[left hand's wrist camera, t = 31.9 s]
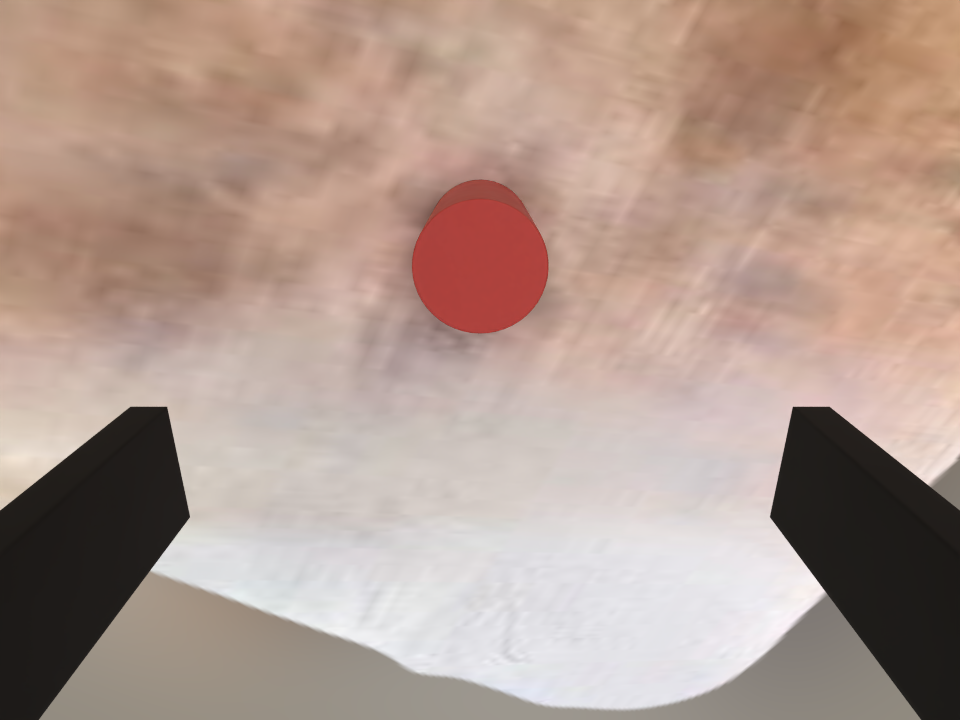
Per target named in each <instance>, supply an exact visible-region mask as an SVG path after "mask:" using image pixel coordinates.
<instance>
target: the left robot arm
mask: <svg viewBox="0 0 960 720" xmlns="http://www.w3.org/2000/svg"><path fill="white" fill-rule="evenodd" d="M189 518H190V515H189V510H188V505H187V500H186V495H185V491H184V486H183V481H182V476H181V471H180V467H179V462H178V457H177V452H176V447H175V443H174V438H173V433H172V428H171V423H170V419H169V414H168V409H167V407H130V408H128V409H127V410H126V411H125V412H123V413H122V414H121V415H120V416H118V417H117V418H116V419H115V420H113V421H112V422H111V423H110V424H108V425H107V426H106V427H105V428H103V429H102V430H101V431H100V432H98V433H97V434H96V435H95V436H93V437H92V438H91V439H90V440H88V441H87V442H86V443H84V444H83V445H82V446H81V447H79V448H78V449H77V450H76V451H74V452H73V453H72V454H71V455H69V456H68V457H67V458H66V459H64V460H63V461H62V462H61V463H59V464H58V465H57V466H56V467H54V468H53V469H52V470H51V471H49V472H48V473H47V474H46V475H44V476H43V477H42V478H41V479H39V480H38V481H37V482H36V483H34V484H33V485H32V486H30V487H29V488H28V489H27V490H25V491H24V492H23V493H22V494H20V495H19V496H18V497H17V498H15V499H14V500H13V501H12V502H10V503H9V504H8V505H7V506H5V507H4V508H3V509H2V510H0V720H39V719H40V717H41V716H42V715H43V713H44V712H45V711H46V709H47V708H48V707H49V705H50V704H51V702H52V701H53V700H54V699H55V697H56V696H57V695H58V693H59V692H60V691H61V689H62V688H63V686H64V685H65V684H66V682H67V681H68V680H69V678H70V677H71V676H72V674H73V673H74V672H75V670H76V669H77V668H78V666H79V665H80V664H81V662H82V661H83V660H84V658H85V657H86V656H87V654H88V653H89V652H90V650H91V649H92V648H93V646H94V645H95V644H96V642H97V641H98V640H99V638H100V637H101V636H102V634H103V633H104V632H105V630H106V629H107V628H108V626H109V625H110V624H111V622H112V621H113V620H114V618H115V617H116V615H117V614H118V613H119V611H120V610H121V609H122V607H123V606H124V605H125V603H126V602H127V601H128V599H129V598H130V597H131V595H132V594H133V593H134V591H135V590H136V589H137V587H138V586H139V585H140V583H141V582H142V581H143V579H144V578H145V577H146V575H147V574H148V573H149V571H150V570H151V569H152V567H153V566H154V565H155V563H156V562H157V561H158V559H159V558H160V557H161V555H162V554H163V553H164V551H165V550H166V549H167V547H168V546H169V545H170V543H171V542H172V540H173V539H174V538H175V536H176V535H177V534H178V532H179V531H180V530H181V528H182V527H183V526H184V524H185V523H186V522H187V520H188V519H189ZM770 518H771V519H772V520H773V522H774V523H775V524H776V526H777V527H778V528H779V530H780V531H781V532H782V534H783V535H784V536H785V538H786V539H787V540H788V542H789V543H790V545H791V546H792V547H793V549H794V550H795V551H796V553H797V554H798V555H799V557H800V558H801V559H802V561H803V562H804V563H805V565H806V566H807V567H808V569H809V570H810V571H811V573H812V574H813V575H814V577H815V578H816V579H817V581H818V582H819V583H820V585H821V586H822V587H823V589H824V590H825V591H826V593H827V594H828V595H829V597H830V598H831V599H832V601H833V602H834V603H835V605H836V606H837V607H838V609H839V610H840V611H841V613H842V614H843V615H844V617H845V618H846V620H847V621H848V622H849V624H850V625H851V626H852V628H853V629H854V630H855V632H856V633H857V634H858V636H859V637H860V638H861V640H862V641H863V642H864V644H865V645H866V646H867V648H868V649H869V650H870V652H871V653H872V654H873V656H874V657H875V658H876V660H877V661H878V662H879V664H880V665H881V666H882V668H883V669H884V670H885V672H886V673H887V674H888V676H889V677H890V678H891V680H892V681H893V682H894V684H895V685H896V686H897V688H898V689H899V691H900V692H901V693H902V695H903V696H904V697H905V699H906V700H907V701H908V703H909V704H910V705H911V707H912V708H913V709H914V711H915V712H916V713H917V715H918V716H919V717H920V719H921V720H960V510H958V509H957V508H956V507H955V506H953V505H952V504H951V503H950V502H948V501H947V500H946V499H945V498H943V497H942V496H941V495H940V494H938V493H937V492H936V491H934V490H933V489H932V488H931V487H930V486H928V485H927V484H926V483H924V482H923V481H922V480H921V479H919V478H918V477H917V476H916V475H914V474H913V473H912V472H911V471H909V470H908V469H907V468H906V467H904V466H903V465H902V464H901V463H899V462H898V461H897V460H896V459H894V458H893V457H892V456H891V455H889V454H888V453H887V452H886V451H884V450H883V449H882V448H881V447H879V446H878V445H877V444H876V443H874V442H873V441H872V440H870V439H869V438H868V437H867V436H865V435H864V434H863V433H862V432H860V431H859V430H858V429H857V428H855V427H854V426H853V425H852V424H850V423H849V422H848V421H847V420H845V419H844V418H843V417H842V416H840V415H839V414H838V413H837V412H835V411H834V410H833V409H832V408H830V407H793V409H792V414H791V419H790V423H789V428H788V433H787V438H786V443H785V447H784V452H783V457H782V462H781V467H780V471H779V476H778V481H777V486H776V491H775V495H774V500H773V505H772V510H771V515H770Z"/></svg>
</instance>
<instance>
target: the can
mask: <svg viewBox="0 0 960 720" xmlns="http://www.w3.org/2000/svg"><path fill="white" fill-rule="evenodd" d="M412 272H413V279H414V283H415V287H416V289H417V292H418V294H419V296H420V298H421V300H422V302H423V303H424V305H425V306H426V307H427V309H428V310H429V311H430V312H431V313H432V314H433V315H434V316H435V317H437V318H438V319H439V320H440V321H442V322H443V323H445V324H447V325H449V326H451V327H453V328H455V329H458V330H461V331H465V332H470V333H490V332H496V331H499V330H503V329H506V328H508V327H510V326H512V325H514V324H516V323H517V322H519V321H520V320H522V319H523V318H524V317H525V316H526V315H527V314H528V313H529V312H530V311H531V310H532V309H533V308H534V307H535V305H536V304H537V303H538V301H539V299H540V297H541V295H542V293H543V291H544V288H545V285H546V281H547V277H548V255H547V250H546V247H545V243H544V241H543V239H542V236H541V234H540V233H539V231H538V229H537V227H536V226H535V224H534V222H533V220H532V219H531V217H530V215H529V213H528V212H527V210H526V208H525V206H524V205H523V203H522V201H521V200H520V199H519V198H518V196H517V195H516V194H515V193H513V192H512V191H511V190H510V189H508V188H507V187H505V186H503V185H501V184H499V183H496V182H493V181H488V180H472V181H467V182H464V183H461V184H459V185H457V186H455V187H454V188H452V189H451V190H449V191H448V192H447V193H446V194H445V195H444V196H443V197H442V198H441V199H440V201H439V202H438V204H437V205H436V207H435V209H434V211H433V212H432V214H431V216H430V218H429V219H428V221H427V223H426V225H425V226H424V228H423V230H422V232H421V233H420V236H419V238H418V240H417V242H416V245H415V248H414V253H413V259H412Z"/></svg>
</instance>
